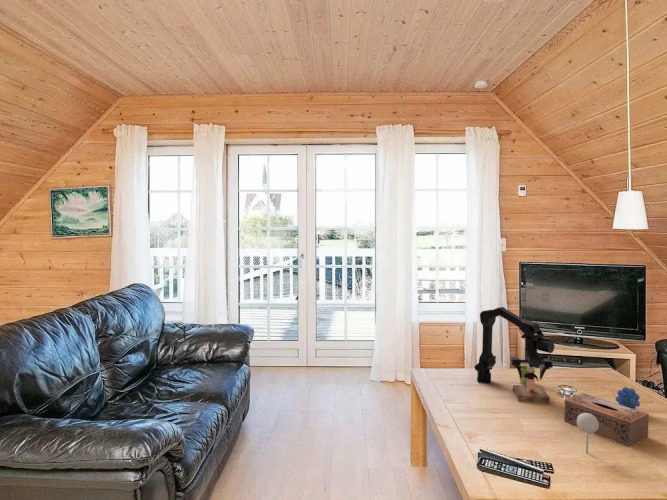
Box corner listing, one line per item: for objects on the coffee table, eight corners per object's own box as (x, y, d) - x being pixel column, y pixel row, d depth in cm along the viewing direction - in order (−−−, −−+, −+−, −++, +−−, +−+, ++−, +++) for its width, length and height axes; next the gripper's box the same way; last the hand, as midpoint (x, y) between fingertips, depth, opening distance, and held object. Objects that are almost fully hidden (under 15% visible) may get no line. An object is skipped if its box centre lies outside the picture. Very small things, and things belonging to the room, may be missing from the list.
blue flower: (623, 417, 190) (623, 390, 189) (611, 411, 197) (612, 385, 196) (647, 415, 191) (647, 389, 191) (634, 409, 198) (635, 384, 197)
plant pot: (512, 382, 234) (513, 366, 234) (525, 379, 238) (525, 364, 238) (527, 387, 226) (527, 371, 225) (539, 385, 230) (539, 369, 229)
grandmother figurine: (535, 389, 216) (535, 364, 215) (539, 392, 212) (539, 366, 212) (520, 389, 216) (520, 364, 215) (524, 392, 212) (524, 367, 211)
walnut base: (518, 401, 209) (518, 395, 208) (512, 390, 222) (512, 384, 222) (549, 403, 206) (549, 397, 205) (541, 392, 219) (541, 386, 219)
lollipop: (578, 446, 166) (578, 408, 165) (599, 451, 161) (600, 412, 160) (574, 453, 160) (575, 414, 159) (596, 459, 156) (597, 419, 155)
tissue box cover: (648, 438, 172) (648, 413, 171) (630, 448, 164) (630, 422, 164) (582, 414, 194) (583, 392, 193) (564, 422, 186) (564, 399, 186)
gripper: (514, 351, 207) (514, 383, 208) (556, 353, 203) (555, 386, 204) (510, 345, 218) (509, 375, 219) (549, 347, 214) (549, 378, 215)
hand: (530, 379), depth 214 cm, fingers open, 9 cm apart
